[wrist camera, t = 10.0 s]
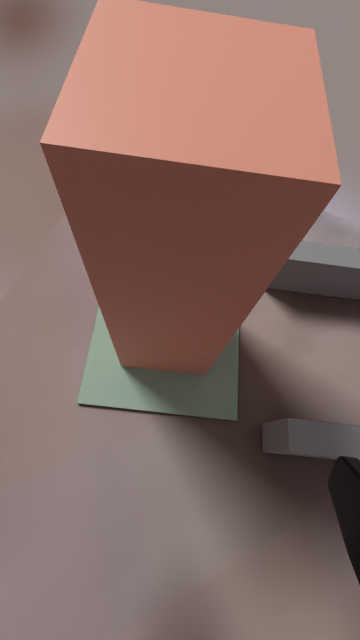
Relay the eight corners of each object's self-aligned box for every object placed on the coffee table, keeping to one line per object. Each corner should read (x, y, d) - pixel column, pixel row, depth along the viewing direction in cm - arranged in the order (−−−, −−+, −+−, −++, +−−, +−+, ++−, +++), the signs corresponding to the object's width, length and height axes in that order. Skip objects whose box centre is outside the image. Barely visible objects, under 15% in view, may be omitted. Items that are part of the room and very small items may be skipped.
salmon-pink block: (205, 375, 18) (341, 184, 5) (120, 365, 18) (40, 142, 5) (209, 300, 20) (314, 29, 7) (133, 291, 20) (100, -6, 7)
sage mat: (236, 421, 17) (237, 420, 17) (77, 403, 17) (77, 403, 17) (239, 272, 21) (240, 270, 21) (111, 255, 21) (110, 254, 21)
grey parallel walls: (435, 470, 17) (501, 475, 14) (262, 452, 17) (289, 452, 13) (394, 286, 22) (436, 258, 19) (260, 269, 21) (279, 237, 18)
